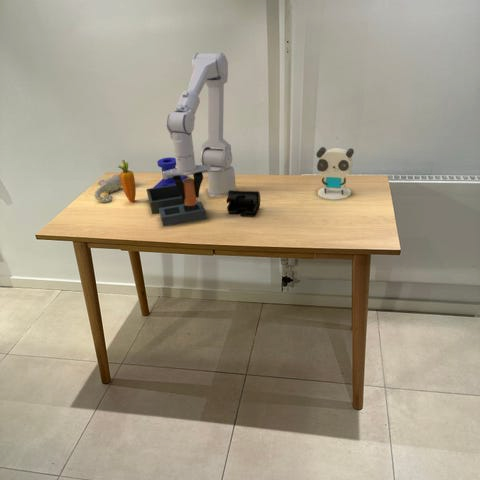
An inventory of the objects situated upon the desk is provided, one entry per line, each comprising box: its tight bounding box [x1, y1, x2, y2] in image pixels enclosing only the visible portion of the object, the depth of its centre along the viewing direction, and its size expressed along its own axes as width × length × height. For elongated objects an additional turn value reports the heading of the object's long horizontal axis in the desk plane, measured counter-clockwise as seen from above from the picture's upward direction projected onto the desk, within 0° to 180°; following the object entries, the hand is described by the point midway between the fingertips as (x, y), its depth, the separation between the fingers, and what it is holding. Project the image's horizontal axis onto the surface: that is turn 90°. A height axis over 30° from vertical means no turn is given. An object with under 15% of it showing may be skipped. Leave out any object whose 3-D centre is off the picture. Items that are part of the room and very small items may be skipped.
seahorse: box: [94, 173, 136, 203], centre depth 174 cm, size 5×12×20 cm
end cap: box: [226, 189, 261, 218], centre depth 153 cm, size 10×7×7 cm
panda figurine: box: [315, 146, 355, 201], centre depth 158 cm, size 12×11×15 cm
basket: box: [146, 185, 185, 215], centre depth 162 cm, size 15×13×5 cm
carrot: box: [117, 159, 137, 203], centre depth 162 cm, size 5×5×15 cm
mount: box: [152, 157, 188, 188], centre depth 176 cm, size 15×8×9 cm, turn 163°
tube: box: [182, 177, 198, 206], centre depth 148 cm, size 4×4×8 cm
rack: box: [158, 200, 207, 227], centre depth 152 cm, size 8×14×4 cm, turn 105°
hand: (190, 197), depth 150 cm, fingers closed on tube, 4 cm apart
